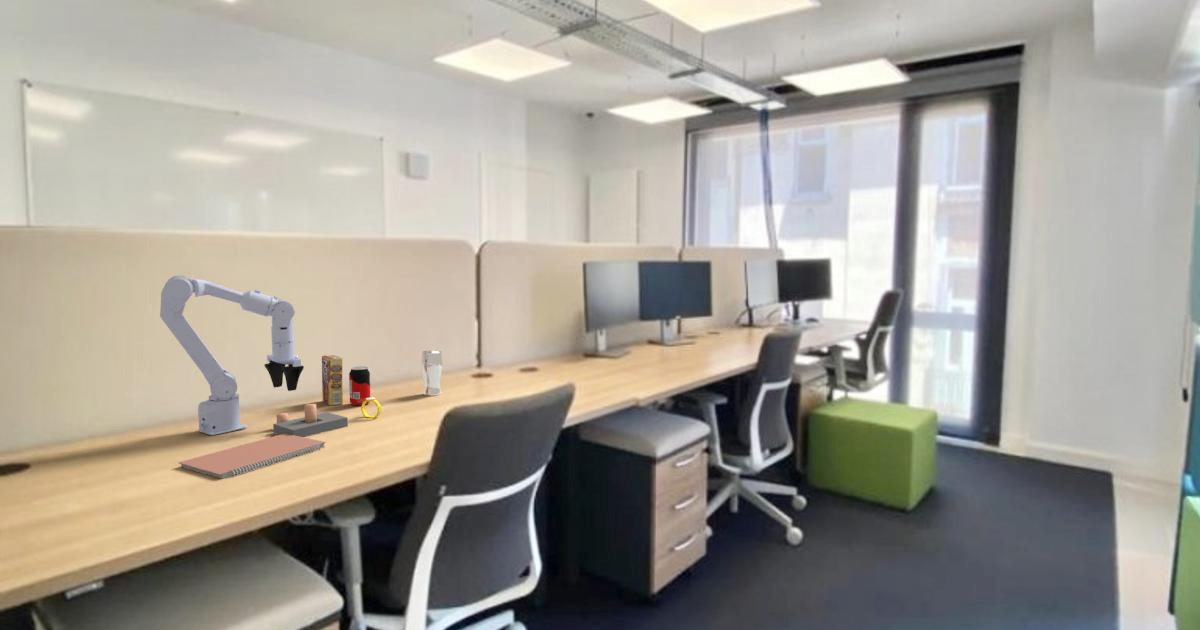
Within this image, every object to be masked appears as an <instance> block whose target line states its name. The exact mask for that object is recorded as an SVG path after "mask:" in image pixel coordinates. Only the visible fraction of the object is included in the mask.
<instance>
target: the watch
mask: <svg viewBox="0 0 1200 630" xmlns="http://www.w3.org/2000/svg"><path fill="white" fill-rule="evenodd" d="M366 402H369V403H370V402H373V403H374V404H375V405H376V408H377V412H376V415H369V414H368V413H367V411H366V409H365V407H366V405H365V404H366ZM360 407H361V409H360V410H361V413H362V416H364V417H365V418H366V417H369V418H368V419H370V418H371V419H376V418H378V417H379V416H380V415H381V413H382V406H381V403H380V402H379V400H377V399H376V397H374V396H373V397H371V396H370V398H366V400H365V401H364V402H363V403H362V406H360Z"/></svg>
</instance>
